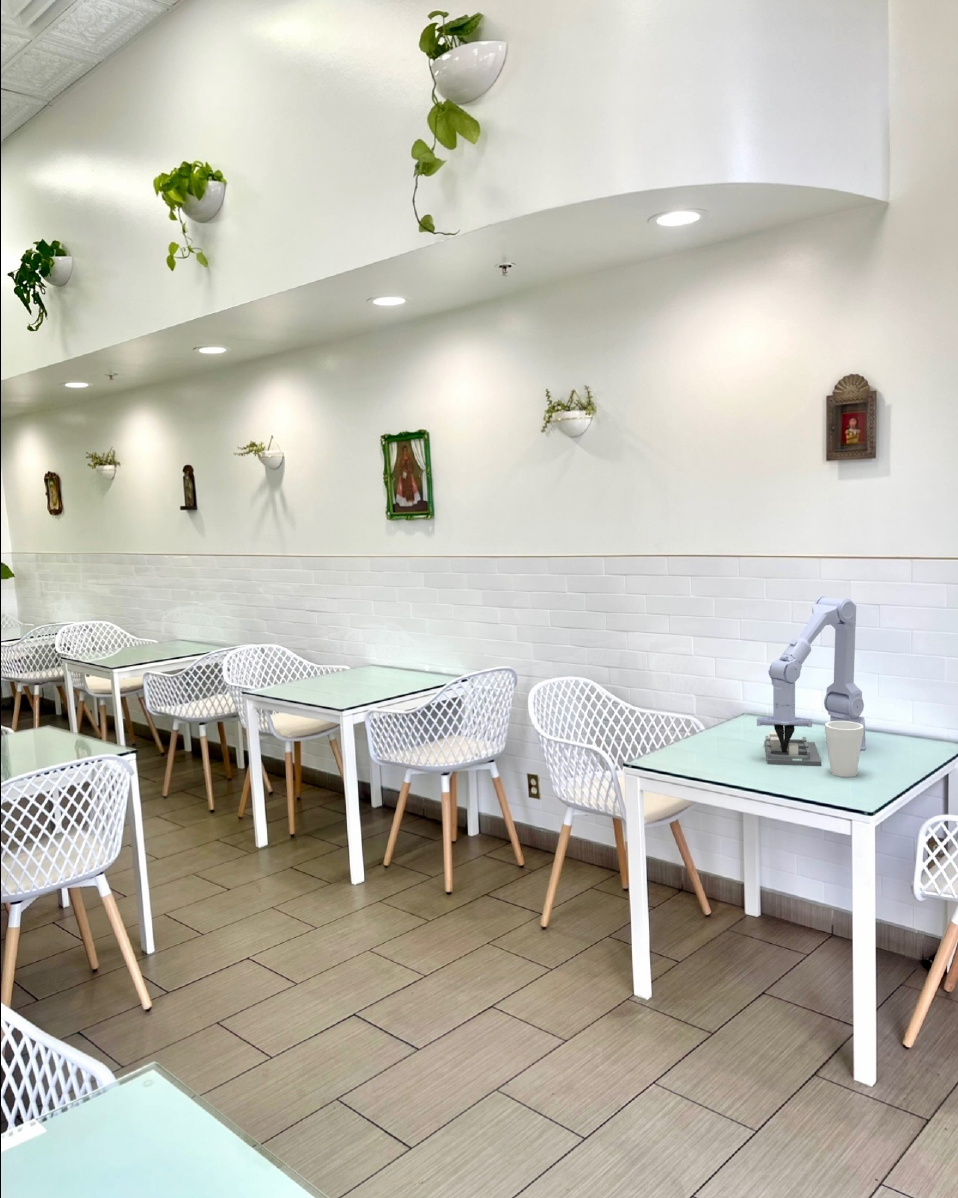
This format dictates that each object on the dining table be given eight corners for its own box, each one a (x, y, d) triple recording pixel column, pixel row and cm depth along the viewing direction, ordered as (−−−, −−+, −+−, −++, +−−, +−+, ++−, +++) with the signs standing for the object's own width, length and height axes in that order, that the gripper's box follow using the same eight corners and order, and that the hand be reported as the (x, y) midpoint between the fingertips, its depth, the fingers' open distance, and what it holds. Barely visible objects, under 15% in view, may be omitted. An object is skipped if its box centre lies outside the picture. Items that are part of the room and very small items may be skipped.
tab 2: (779, 748, 270) (779, 737, 269) (779, 751, 267) (779, 740, 266) (770, 747, 270) (770, 737, 270) (770, 750, 267) (770, 739, 267)
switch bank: (814, 746, 275) (814, 735, 275) (821, 766, 256) (821, 754, 256) (764, 744, 279) (764, 734, 278) (767, 764, 260) (767, 752, 259)
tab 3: (797, 754, 263) (797, 743, 262) (798, 757, 260) (798, 746, 259) (788, 754, 263) (788, 743, 263) (789, 757, 260) (789, 746, 260)
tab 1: (778, 742, 275) (778, 731, 275) (778, 745, 272) (778, 734, 272) (769, 742, 276) (769, 731, 276) (769, 745, 273) (769, 734, 273)
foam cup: (865, 779, 243) (865, 730, 242) (827, 778, 246) (827, 729, 244) (859, 768, 253) (860, 721, 251) (822, 767, 255) (823, 720, 253)
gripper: (757, 706, 258) (757, 754, 260) (813, 707, 255) (813, 756, 256) (756, 700, 265) (756, 747, 267) (811, 701, 262) (810, 749, 263)
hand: (784, 751), depth 262 cm, fingers closed
